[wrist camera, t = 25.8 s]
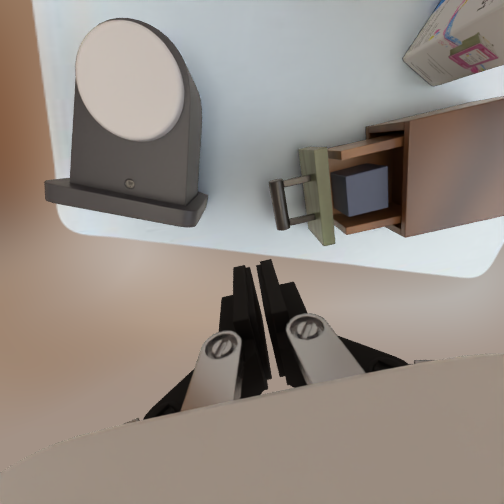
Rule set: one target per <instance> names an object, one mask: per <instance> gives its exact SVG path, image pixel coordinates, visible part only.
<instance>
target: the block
mask: <svg viewBox="0 0 504 504" xmlns="http://www.w3.org/2000/svg"><path fill="white" fill-rule="evenodd" d="M331 183H332V192H333V202H334V208H335V209H337V210H338V211H340V212H342V213H343V214H345V215H346V216H348V217H351V216H355V215H359V214H363V213H367V212H371V211H375V210H379V209H383V208H387V207H388V166H383V165H376V164H369V163H365V164H362V165H358V166H354V167H350V168H346V169H342V170H338V171H334V172H331Z"/></svg>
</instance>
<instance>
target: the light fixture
mask: <svg viewBox="0 0 504 504" xmlns="http://www.w3.org/2000/svg"><path fill="white" fill-rule="evenodd" d="M75 72H76V81H75V100H74V116H73V133H72V150H71V169H70V178H64V179H55V180H47V181H45V182H44V183H45V199H46V201H49V202H52V203H57V204H62V205H67V206H72V207H78V208H83V209H88V210H94V211H99V212H105V213H110V214H115V215H121V216H126V217H131V218H137V219H142V220H147V221H153V222H158V223H163V224H169V225H174V226H180V227H195V226H196V225H197V223H198V221H199V220H200V218H201V216H202V214H203V213H204V211H205V209H206V206H207V200H208V195H206V194H203V193H200V192H197V191H198V177H199V162H200V146H201V130H202V106H201V99H200V95H199V92H198V90H197V87H196V85H195V83H194V81H193V79H192V77H191V75H190V73H189V70H188V68H187V66H186V64H185V62H184V60H183V58H182V56H181V54H180V53H179V51H178V50H177V48H176V47H175V45H174V44H173V43H172V42H171V41H170V40H169V38H168V37H167V36H165V35H164V34H163V33H162V32H160V31H159V30H158V29H156V28H154V27H153V26H151V25H149V24H147V23H144V22H142V21H139V20H134V19H130V18H115V19H110V20H107V21H105V22H102V23H100V24H99V25H97V26H96V27H95V28H93V29H92V30H91V31H90V32H89V33H88V34H87V35H86V37H85V38H84V39H83V41H82V43H81V45H80V47H79V50H78V53H77V58H76V66H75Z"/></svg>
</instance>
